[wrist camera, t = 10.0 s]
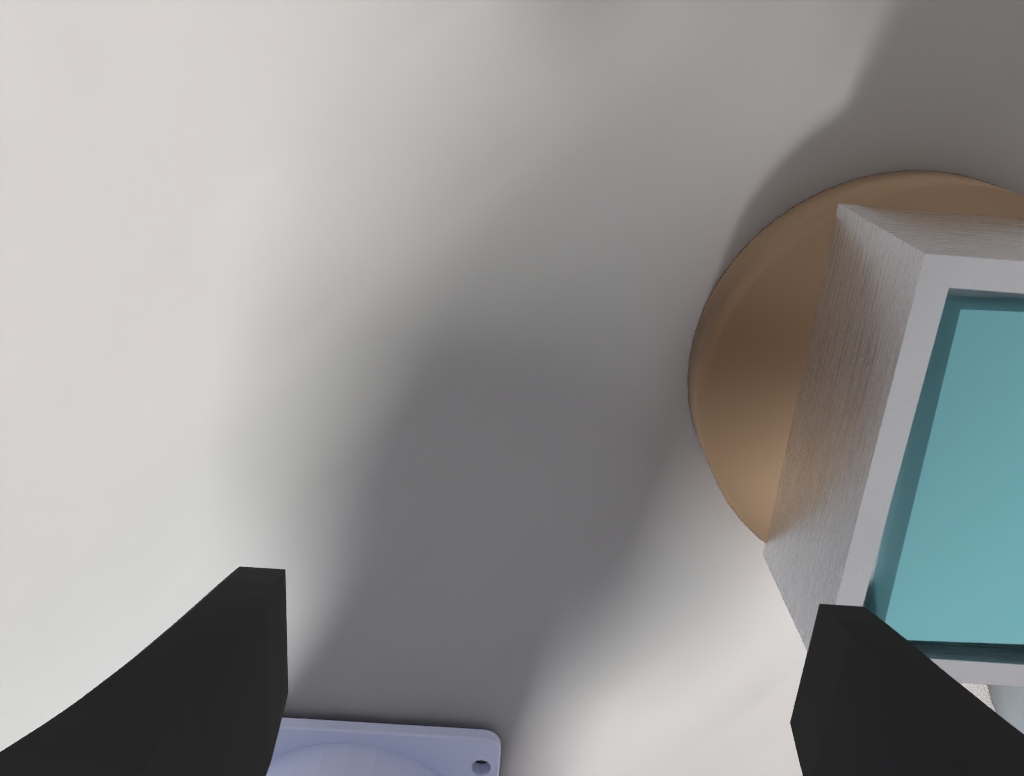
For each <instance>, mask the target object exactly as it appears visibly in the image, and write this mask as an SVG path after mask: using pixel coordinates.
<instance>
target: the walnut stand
mask: <svg viewBox="0 0 1024 776" xmlns="http://www.w3.org/2000/svg"><path fill="white" fill-rule="evenodd" d="M838 204H851V205H862V206H874V207H887V208H900V209H912V210H925V211H937V212H950V213H963V214H975V215H988V216H1001V217H1013V218H1024V195H1021V194H1018V193H1015V192H1012V191H1009V190H1007V189H1004V188H1001V187H998V186H995V185H992V184H989V183H987V182H983V181H980V180H977V179H973V178H970V177H967V176H963V175H959V174H952V173H945V172H939V171H907V170H906V171H897V172H889V173H881V174H875V175H871V176H867V177H863V178H859V179H855V180H851V181H848V182H845V183H843V184H840V185H838V186H835V187H832V188H830V189H827V190H825V191H822V192H820V193H818V194H816V195H815V196H813V197H811V198H809V199H807V200H805V201H803V202H801V203H799V204H798V205H796V206H794V207H793V208H792V209H790V210H789V211H787V212H786V213H784V214H783V215H781V216H780V217H778V218H777V219H776V220H774V221H773V222H772V223H770V224H769V225H768V226H767V227H766V228H765V229H764V230H762V231H761V232H760V233H759V234H758V235H757V236H756V237H755V238H753V239H752V240H751V241H750V242H749V243H748V245H747V246H746V247H745V248H744V249H743V250H742V251H741V252H740V253H739V255H738V256H737V257H736V258H735V259H734V260H733V261H732V263H731V264H730V266H729V267H728V268H727V270H726V271H725V273H724V274H723V276H722V277H721V278H720V280H719V281H718V283H717V284H716V286H715V288H714V290H713V292H712V294H711V296H710V298H709V299H708V301H707V303H706V305H705V307H704V310H703V312H702V315H701V318H700V320H699V323H698V326H697V328H696V331H695V335H694V339H693V344H692V348H691V352H690V358H689V369H688V397H689V407H690V412H691V417H692V422H693V426H694V429H695V432H696V434H697V437H698V440H699V443H700V445H701V448H702V450H703V452H704V455H705V457H706V459H707V462H708V464H709V466H710V468H711V471H712V473H713V475H714V478H715V480H716V482H717V484H718V486H719V488H720V490H721V491H722V493H723V495H724V497H725V499H726V501H727V503H728V504H729V505H730V507H731V508H732V509H733V511H734V512H735V513H736V515H737V516H738V517H739V519H740V520H741V521H742V522H743V523H744V524H745V525H746V526H747V527H748V528H749V529H750V530H751V531H752V532H753V533H754V534H755V535H756V536H757V537H758V538H759V539H761V540H762V541H764V542H765V543H766V541H767V536H768V532H769V527H770V522H771V518H772V513H773V508H774V504H775V499H776V494H777V490H778V485H779V480H780V476H781V471H782V466H783V462H784V457H785V452H786V448H787V443H788V438H789V434H790V429H791V424H792V420H793V415H794V410H795V406H796V401H797V396H798V392H799V387H800V382H801V378H802V373H803V368H804V364H805V359H806V355H807V350H808V345H809V341H810V336H811V331H812V327H813V322H814V317H815V313H816V308H817V303H818V299H819V294H820V289H821V285H822V280H823V275H824V271H825V266H826V261H827V257H828V252H829V247H830V243H831V238H832V233H833V229H834V224H835V219H836V213H837V208H838Z"/></svg>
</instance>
